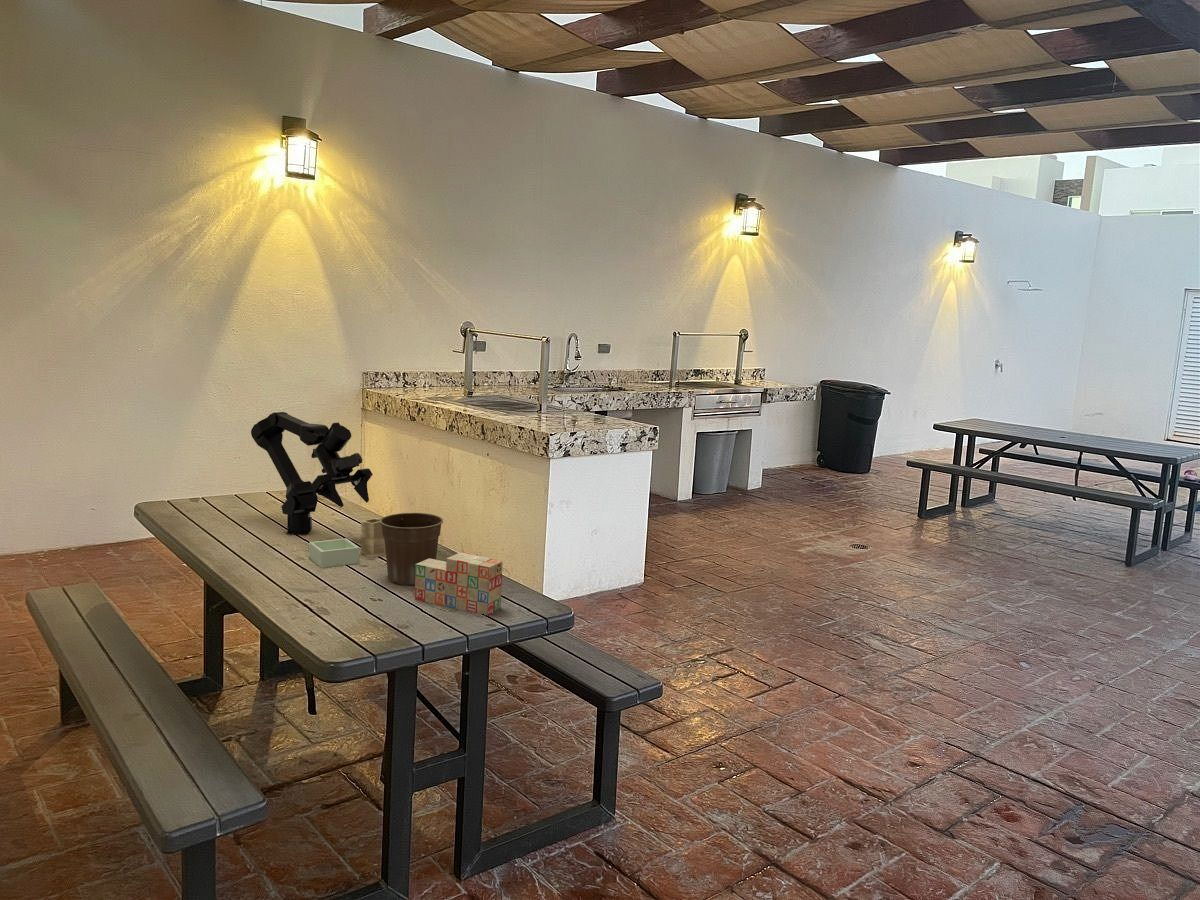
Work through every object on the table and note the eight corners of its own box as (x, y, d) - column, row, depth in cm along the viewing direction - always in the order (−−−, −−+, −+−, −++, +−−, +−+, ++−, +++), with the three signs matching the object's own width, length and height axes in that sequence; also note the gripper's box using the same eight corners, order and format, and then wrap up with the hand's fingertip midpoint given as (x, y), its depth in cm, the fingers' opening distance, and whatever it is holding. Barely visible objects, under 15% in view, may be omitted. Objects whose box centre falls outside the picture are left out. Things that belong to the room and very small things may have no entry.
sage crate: (309, 557, 257) (309, 542, 256) (346, 553, 263) (346, 538, 262) (321, 567, 248) (321, 551, 247) (359, 563, 254) (359, 547, 253)
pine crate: (360, 554, 262) (361, 520, 261) (375, 551, 267) (375, 517, 265) (371, 558, 260) (371, 523, 258) (386, 554, 264) (386, 520, 262)
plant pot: (387, 591, 232) (388, 529, 229) (372, 573, 246) (373, 514, 243) (449, 585, 239) (451, 524, 237) (431, 567, 254) (432, 510, 251)
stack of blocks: (413, 600, 227) (414, 551, 225) (428, 593, 232) (429, 546, 230) (487, 616, 218) (489, 566, 216) (501, 608, 223) (503, 560, 222)
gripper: (317, 447, 258) (342, 492, 254) (368, 441, 273) (393, 483, 269) (299, 471, 264) (323, 515, 259) (351, 463, 279) (375, 505, 275)
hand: (355, 504), depth 265 cm, fingers open, 9 cm apart
